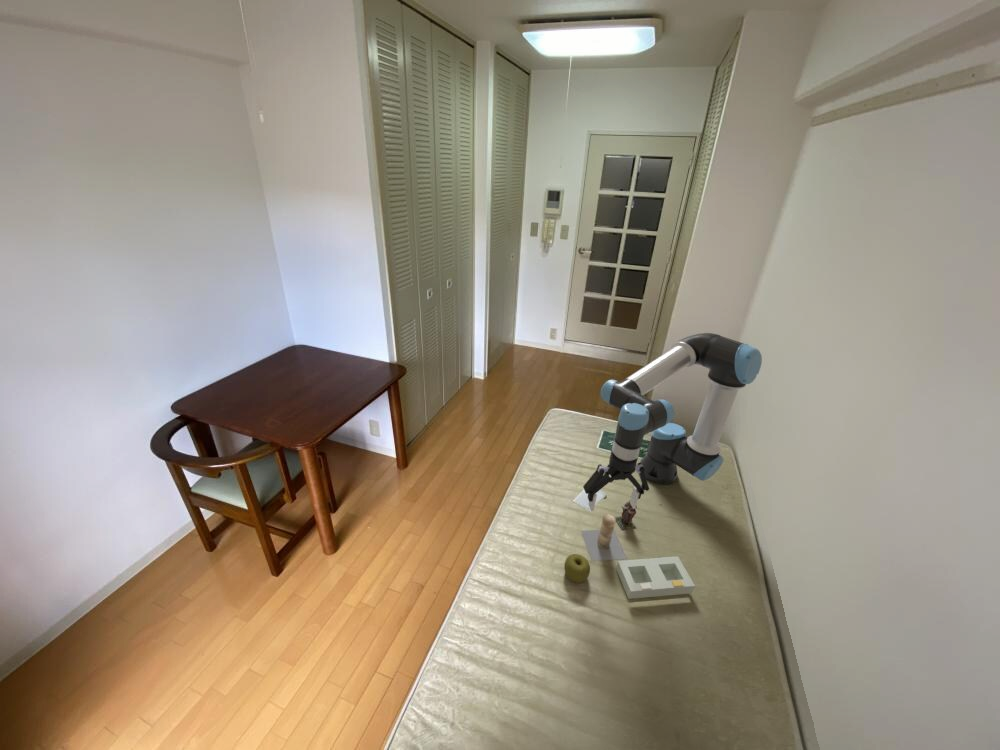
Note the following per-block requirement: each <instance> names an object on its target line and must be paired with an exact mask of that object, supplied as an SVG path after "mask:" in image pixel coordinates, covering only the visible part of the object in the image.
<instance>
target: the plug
mask: <svg viewBox="0 0 1000 750" xmlns="http://www.w3.org/2000/svg"><path fill="white" fill-rule="evenodd" d="M615 525H616V520H615V516H613V515H612V514H609V513H607V514H604V515H603V516H602V520H601V525H600V527H599V530H600V533H599V537H598V542H597V544H598V546H599V547H600V548H601V549H608V548H609V546H610V542H611V538H612V533H613V529H614V528H615ZM614 530H615V529H614Z"/></svg>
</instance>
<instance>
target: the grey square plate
mask: <svg viewBox="0 0 1000 750" xmlns="http://www.w3.org/2000/svg"><path fill="white" fill-rule="evenodd" d="M580 533H581V535H582V537H583V538H582V539H583V540H584V544H585V547H586V549H587V552H588V555H589V558H590V560H591V562H600V561H601V562H602V561H604V562H605V561H616V560H618V561H619V560H628V557H627V555H626V553H625V551H624V548H623V546H622V543H621V541H620V539H619V537H618V534H617V532H616V530H615V529H613V533H612V538H611V542H610V546H609V548H608V549H601V548H600V547H599V546H598V544H597V542H598V537H599V533H600V529H587V530H580Z"/></svg>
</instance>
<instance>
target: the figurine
mask: <svg viewBox="0 0 1000 750" xmlns="http://www.w3.org/2000/svg"><path fill="white" fill-rule="evenodd" d="M637 506H638V505H637V504H636V508H635V509H633V508H632V506H631V504H630V499H629V500H628V501H626V503H625V504H623V505H622V506H621V508H622V512H621V516H614V518H615V520H616V521H615V523H616V524H617V526H618V528H620V530H621V531H627V530H632V529H636V528H637V527H636V525H635V524H634V522H633V519H634V517H635V515H636V514H637V510H636V509H638V507H637Z"/></svg>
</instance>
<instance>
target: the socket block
mask: <svg viewBox="0 0 1000 750" xmlns="http://www.w3.org/2000/svg"><path fill="white" fill-rule="evenodd" d="M615 569H616V572H617V574H618V577H619V580H620V582H621V584H622V586H623V588H624V592H625V594H626V596H627V598H628V599H627V600H629V599H631V600H632V599H642V598H643V599H644V598H651V597H653V598H654V597H665V596H676V595H688V594H689V596H692V594H693V592H694V590H695V587H696V585H695V583H694V582H693V580H692V578H691V577H690V574H689V573H688V570H686V568H685V566H684V564H683V563H682V561H681V559H680V557H679V556H677V555H676V556H665V557H664V556H663V557H654V558H653V557H652V558H651V557H650V558H640V559H639V558H638V559H622V560H618V561H617V564H616V566H615Z"/></svg>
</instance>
